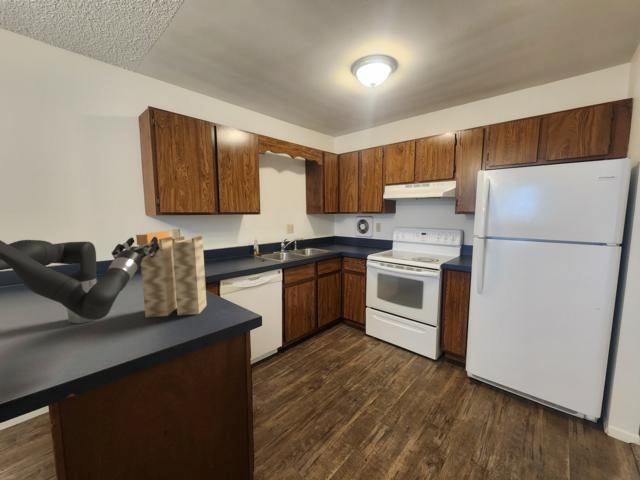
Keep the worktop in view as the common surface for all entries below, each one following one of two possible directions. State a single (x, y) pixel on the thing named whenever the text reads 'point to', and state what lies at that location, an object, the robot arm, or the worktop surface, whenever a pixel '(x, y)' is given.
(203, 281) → the post
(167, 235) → the bracket bar
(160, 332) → the worktop surface
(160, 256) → the rosette post
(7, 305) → the worktop surface
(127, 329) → the worktop surface
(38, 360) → the worktop surface
